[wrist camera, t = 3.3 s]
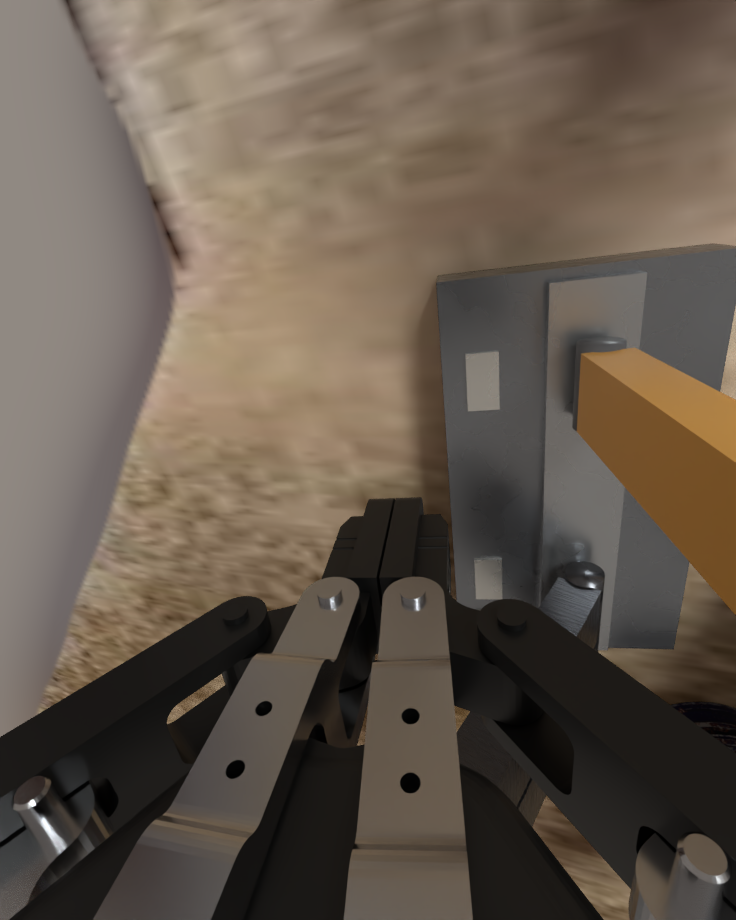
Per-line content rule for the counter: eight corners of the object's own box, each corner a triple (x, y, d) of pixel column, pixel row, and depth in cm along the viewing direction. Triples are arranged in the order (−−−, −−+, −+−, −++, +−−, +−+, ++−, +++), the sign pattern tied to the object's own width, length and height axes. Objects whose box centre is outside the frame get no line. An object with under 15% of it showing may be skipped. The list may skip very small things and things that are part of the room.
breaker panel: (421, 277, 26) (375, 366, 11) (713, 243, 24) (1203, 297, 8) (447, 617, 36) (442, 918, 21) (655, 620, 34) (827, 968, 18)
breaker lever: (568, 339, 23) (813, 506, 9) (618, 334, 22) (942, 496, 9) (564, 421, 24) (768, 661, 11) (611, 417, 24) (876, 656, 11)
